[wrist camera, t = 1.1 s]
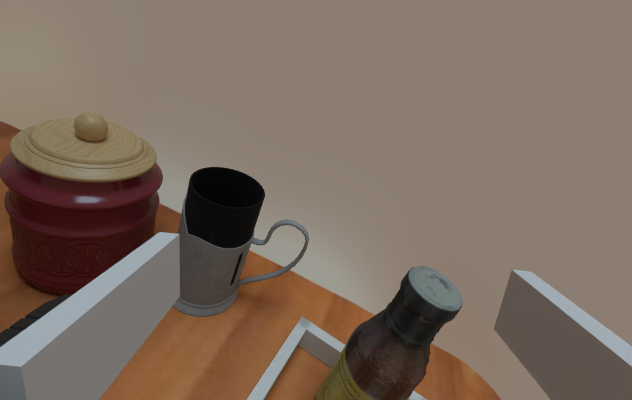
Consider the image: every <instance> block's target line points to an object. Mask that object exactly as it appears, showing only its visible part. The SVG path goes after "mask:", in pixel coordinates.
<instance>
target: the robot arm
mask: <svg viewBox="0 0 632 400" xmlns="http://www.w3.org/2000/svg"><path fill="white" fill-rule="evenodd" d="M179 297H180V237H179V234H173V233H164V232H159V233H158V234H156V235H155V236H154V237H152V238H151V239H150V240H148V241H147V242H145V243H144V244H143V245H141V246H140V247H138V248H137V249H136V250H134V251H133V252H131V253H130V254H129V255H127V256H126V257H125V258H123V259H122V260H120V261H119V262H118V263H116V264H115V265H113V266H112V267H111V268H109V269H108V270H107V271H105V272H104V273H102V274H101V275H100V276H98V277H97V278H95V279H94V280H93V281H91V282H90V283H89V284H87V285H86V286H84V287H83V288H82V289H80V290H79V291H77V292H76V293H75V294H65V295H63V296H60V297H58V298H56V299H53V300H51V301H49V302H46V303H44V304H43V305H41V306H40V307H38V308H37V309H35V310H34V311H32V312H31V313H29V314H28V315H26V317H25V319H24V318H22V319H20V320H19V321H17V322H16V323H15V324H13V325H12V326H10V329H6V330H4V331H3V332H1V333H0V400H99V399H100V398H101V397H102V395H103V394H104V393H105V392H106V390H107V389H108V388H109V387H110V385H111V384H112V383H113V381H114V380H115V379H116V378H117V376H118V375H119V374H120V372H121V371H122V370H123V369H124V367H125V366H126V365H127V363H128V362H129V361H130V360H131V358H132V357H133V356H134V355H135V353H136V352H137V351H138V349H139V348H140V347H141V346H142V344H143V343H144V342H145V340H146V339H147V338H148V337H149V335H150V334H151V333H152V331H153V330H154V329H155V328H156V326H157V325H158V324H159V323H160V321H161V320H162V319H163V317H164V316H165V315H166V314H167V312H168V311H169V310H170V308H171V307H172V306H173V305H174V303H175V302H176V301H177V299H178V298H179ZM494 330H495V331H496V332H497V333H498V335H499V336H500V337H501V338H502V340H503V341H504V342H505V343H506V345H507V346H508V347H509V348H510V350H511V351H512V352H513V353H514V354H515V356H516V357H517V358H518V359H519V361H520V362H521V363H522V364H523V366H524V367H525V368H526V369H527V370H528V372H529V373H530V374H531V375H532V377H533V378H534V379H535V380H536V382H537V383H538V384H539V385H540V387H541V388H542V389H543V390H544V392H545V393H546V394H547V395H548V397H549V398H550V399H551V400H632V346H630V345H629V344H627V343H626V342H625V341H623V340H622V339H621V338H619V337H618V336H617V335H615V334H614V333H613V332H611V331H610V330H609V329H607V328H606V327H604V326H603V325H602V324H601V323H599V322H598V321H597V320H595V319H594V318H593V317H591V316H590V315H588V314H587V313H586V312H585V311H583V310H582V309H580V308H579V307H578V306H576V305H575V304H574V303H572V302H571V301H570V300H568V299H567V298H566V297H564V296H563V295H562V294H560V293H559V292H558V291H556V290H555V289H554V288H552V287H551V286H550V285H548V284H547V283H546V282H544V281H543V280H541V279H540V278H539V277H537V276H536V275H535V274H533V273H532V272H530V271H520V270H512V271H511V274H510V278H509V281H508V284H507V287H506V291H505V294H504V297H503V301H502V304H501V308H500V311H499V314H498V317H497V320H496V324H495V327H494Z"/></svg>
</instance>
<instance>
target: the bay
mask: <svg viewBox="0 0 632 400" xmlns="http://www.w3.org/2000/svg"><path fill="white" fill-rule="evenodd" d="M298 345H299V346H300V347H301V348H303V349H304V350H306V351H307V352H309V353H310V354H312V355H313V356H314V357H316V358H317V359H319V360H320V361H322V362H323V363H325V364H326V365H327V366H329V367H330V368H332V367H333V365H334V363H335V362H336V360H337V359H338V357H339V355H340V353H341V352H342V350H343V348H344V347H345V345H344V344H343V343H341V342H340V341H338V340H337V339H335V338H334V337H332V336H331V335H329V334H328V333H326V332H325V331H323V330H322V329H320V328H319V327H317V326H316V325H314V324H313V323H311V322H310V321H308V320H307V319H305V318H304V317H301V319H300V320H299V322H298V323H297V325H296V326H295V328H294V329H293V331H292V332H291V334H290V335H289V337H288V338H287V340H286V341H285V343H284V344H283V346H282V347H281V349H280V350H279V352H278V353H277V355H276V356H275V358H274V359H273V361H272V362H271V364H270V365H269V367H268V368H267V370H266V371H265V373H264V374H263V376H262V377H261V379H260V380H259V382H258V383H257V385H256V386H255V388H254V389H253V391H252V392H251V394H250V395H249V397H248V398H247V400H265V398H266V396H267V395H268V393H269V391H270V390H271V388H272V387H273V385H274V383H275V382H276V380H277V378H278V377H279V375H280V373H281V372H282V370H283V369H284V367H285V365H286V364H287V362H288V360H289V359H290V357H291V355H292V354H293V352H294V351H295V349H296V347H297V346H298ZM407 400H427V399H425V398H424V397H422V396H421V395H419V394H418V393H416V392H415V391H413V392H412V394H411V395H410V397H409V398H408V399H407Z"/></svg>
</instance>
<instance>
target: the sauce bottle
mask: <svg viewBox="0 0 632 400" xmlns="http://www.w3.org/2000/svg"><path fill="white" fill-rule="evenodd" d="M462 303H463V301H462V296H461V294H460V292H459V290H458V289H457V288H456V286H455V285H454V284H453V283H452V282H451V281H450V280H449V279H447V278H446V277H444V276H443V275H441V274H440V273H438V272H437V271H435V270H433V269H431V268H429V267H424V266H418V267H413V268H411V269H410V270H409V271H408V273H407V274H406V276H405V277H404V278H403V280H402V281H401V287H400V290H399V291H398V293H397V294H396V296H395V297H394V299H393V300H392V302H391V303H389V304H388V306H387V307H386V309H384V310H383V311H381V312H380V313H378V314H377V315H375V316H374V317H372V318H371V319H369V320H368V321H366V322H364V323H362V324H361V325H359V326H358V327H357V328H356V329H355V331H354V332H353V333H352V335H351V337H350V338H349V340H348V342H347V343H346V345H345V347H344V348H343V350H342V352H341V353H340V355H339V357H338V359H337V360H336V362H335V363H334V365H333V367H332V368H331V370H330V372H329V373H328V375H327V377H326V378H325V380H324V382H323V383H322V385H321V386H320V388H319V390H318V391H317V393H316V395H315V398H314V400H407V399H408V398H409V397H410V395H411V394H412V392H413V390H414V389H415V387H416V386H417V385H418V384H419V383H420V382H421V381H422V379H423V378H424V376H425V374H426V367H427V364H428V362H429V355H430V343H431V342H432V341H433V340H434V337H435V335H436V333H438V332H439V330H440V328H441V327H442V326H443V325H444V324H445V323H447V322H448V321H451V320H452V319H453V318H454V317H455V316H456V314H457V313H458V312H459V310H460V309H461V307H462Z"/></svg>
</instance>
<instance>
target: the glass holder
mask: <svg viewBox="0 0 632 400" xmlns="http://www.w3.org/2000/svg"><path fill="white" fill-rule="evenodd" d="M264 197H265V192H264V189H263V188H262V186H261V185H260V184H259V183H258V182H257V181H256V180H255V179H253V178H252V177H250V176H248V175H247V174H244V173H242V172H239V171H236V170H233V169H228V168H221V167H209V168H203V169H200V170H197V171H196V172H194V173H193V174H192V175H191V177H190V181H189V187H188V192H187V194H186V197H185V199H184V203H183V209H182V214H181V220H180V225H179V231H178V234H179V237H180V297H179V298H178V299H177V301H176V302H175V303H174V305H173V307H174V308H176V309H177V310H179V311H180V312H183V313H185V314H188V315H191V316H198V317H207V316H213V315H216V314H219V313H221V312H223V311H225V310H227V309H228V308H229V307H230V306H231V305H232V304H233V303H234V302H235V300H236V298H237V295H238V289H239V286H240V285H242V284H246V283H250V282H255V281H261V280H265V279H269V278H274V277H277V276H281V275H282V274H284V273H286V272H287V271H289V270H290V269H291V268H292V267H294V266H295V265H296V264H297V263H298V262H299V260H300V259H301V258H302V256H303V254H304V253H305V251H306V249H307V245H308V241H309V237H308V232H307V231H306V229H305V228H304V227H303V226H302V225H301V224H299V223H298V222H296V221H293V220H282V221H279V222H277V223H275V224H274V225H273V226H272V227H271V229H270V231H269V232H268V235H267V237H266V239H265V240H258V239H255V238H253V236H254V227H255V224H256V222H257V219H258V216H259V212H260V209H261V206H262V203H263V200H264ZM282 225H292V226H294V227H296V228H298V229H299V230H300V231H302V233H303V234H304V236H305V241H306V242H305V245H304V247H303V249H302V251H301V252H300V254H299V256H298V257H297V258H296V259H295V260H294V261H293V262H292V263H290V264H289V265H288V266H286V267H284V268H283V269H281V270H278V271H276V272H272V273H269V274H264V275H259V276H254V277H249V278H245V279H242V280H240V281H239V278H240V275H241V272H242V269H243V266H244V263H245V260H246V257H247V254H248V251H249V248H250V245H251V243H253V244H256V245H265V244H266V243H267V242H268V241H269V239H270V237H271V234H272V233H273V231H274V230H275V229H276V228H278V227H280V226H282ZM238 281H239V282H238Z"/></svg>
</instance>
